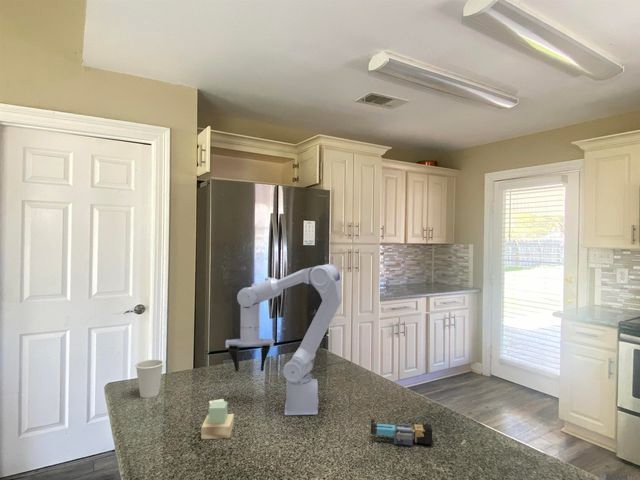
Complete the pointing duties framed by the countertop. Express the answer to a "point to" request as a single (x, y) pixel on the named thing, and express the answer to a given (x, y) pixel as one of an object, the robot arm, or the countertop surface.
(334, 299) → the robot arm
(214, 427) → the maple block
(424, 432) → the toy
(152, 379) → the dixie cup
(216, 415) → the sage block
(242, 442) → the countertop surface
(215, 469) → the countertop surface
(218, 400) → the ivory block
